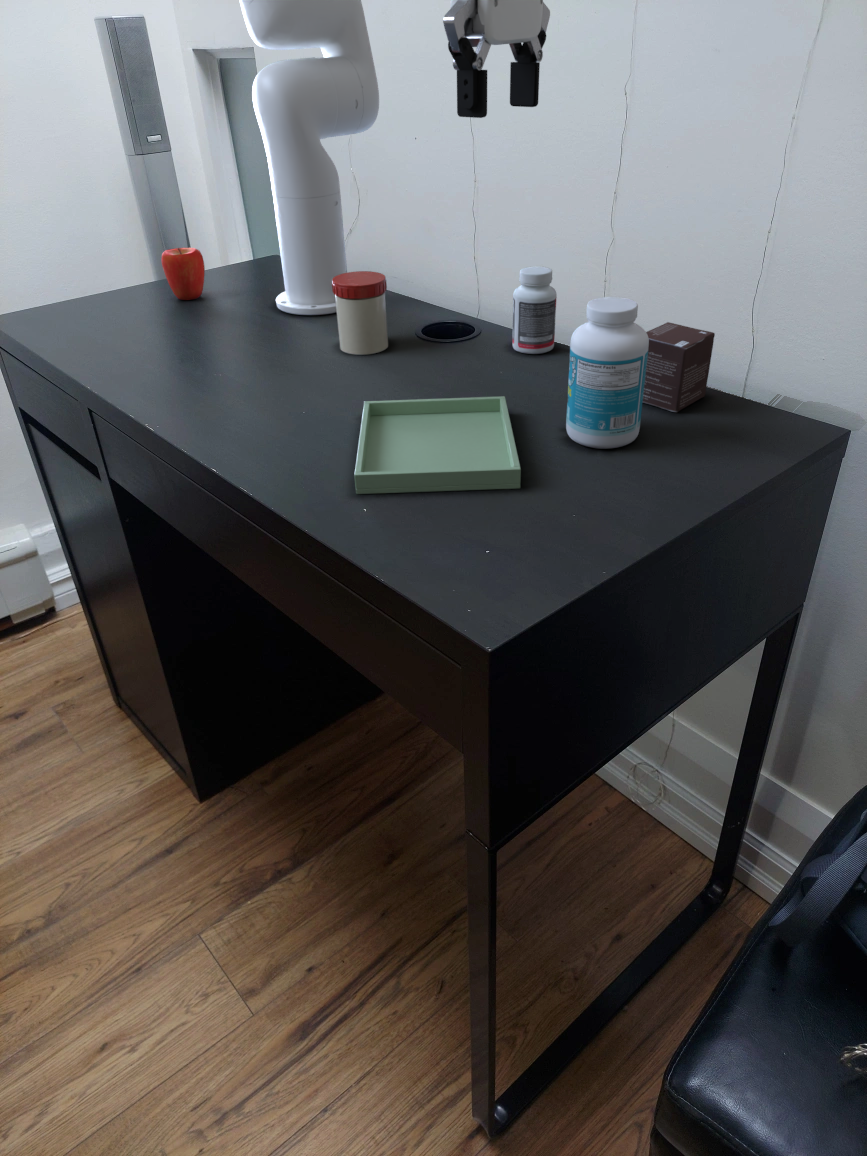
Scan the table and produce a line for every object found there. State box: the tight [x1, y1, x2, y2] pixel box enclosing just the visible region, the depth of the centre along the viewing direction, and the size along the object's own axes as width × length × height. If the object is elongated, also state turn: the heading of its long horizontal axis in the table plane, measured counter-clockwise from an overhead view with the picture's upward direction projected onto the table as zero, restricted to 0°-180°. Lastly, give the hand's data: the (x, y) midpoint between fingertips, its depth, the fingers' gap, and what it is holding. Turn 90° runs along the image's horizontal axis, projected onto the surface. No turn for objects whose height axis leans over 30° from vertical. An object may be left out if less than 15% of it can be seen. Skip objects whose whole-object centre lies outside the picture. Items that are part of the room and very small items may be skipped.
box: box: [642, 321, 716, 413], centre depth 92 cm, size 6×6×7 cm
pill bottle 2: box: [565, 296, 649, 450], centre depth 83 cm, size 8×7×14 cm
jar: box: [335, 291, 389, 356], centre depth 109 cm, size 6×6×8 cm
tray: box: [353, 395, 522, 495], centre depth 84 cm, size 17×15×2 cm
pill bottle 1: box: [511, 265, 558, 355], centre depth 106 cm, size 5×5×10 cm
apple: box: [161, 247, 206, 301], centre depth 131 cm, size 6×6×8 cm
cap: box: [332, 270, 388, 299], centre depth 107 cm, size 7×7×2 cm
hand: (498, 111), depth 86 cm, fingers open, 9 cm apart
